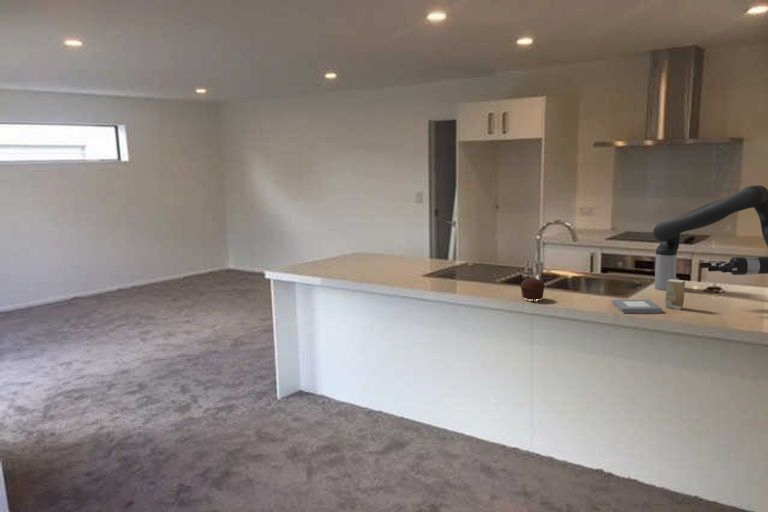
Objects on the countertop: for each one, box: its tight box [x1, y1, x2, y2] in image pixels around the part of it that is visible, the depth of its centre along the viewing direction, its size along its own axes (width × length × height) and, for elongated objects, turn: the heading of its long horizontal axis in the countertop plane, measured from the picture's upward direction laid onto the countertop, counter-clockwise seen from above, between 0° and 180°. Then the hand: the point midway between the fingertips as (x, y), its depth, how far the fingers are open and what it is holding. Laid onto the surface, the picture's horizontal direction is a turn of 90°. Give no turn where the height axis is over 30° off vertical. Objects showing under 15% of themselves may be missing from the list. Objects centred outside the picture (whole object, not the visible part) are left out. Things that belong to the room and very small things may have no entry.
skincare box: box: [664, 279, 686, 310], centre depth 252 cm, size 6×4×12 cm
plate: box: [611, 298, 663, 314], centre depth 254 cm, size 16×16×2 cm
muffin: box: [519, 277, 546, 300], centre depth 276 cm, size 12×11×10 cm
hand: (704, 267), depth 248 cm, fingers open, 8 cm apart
